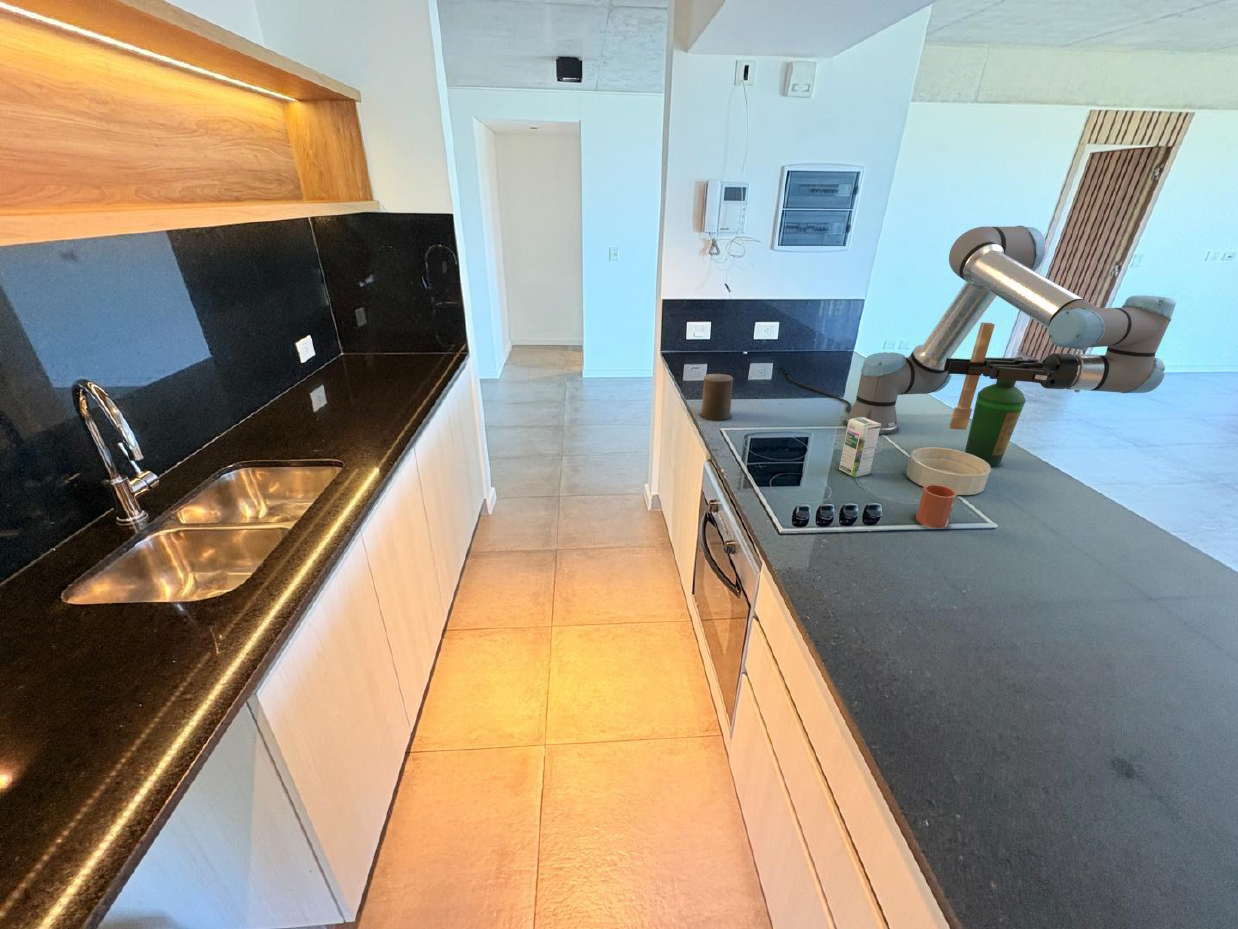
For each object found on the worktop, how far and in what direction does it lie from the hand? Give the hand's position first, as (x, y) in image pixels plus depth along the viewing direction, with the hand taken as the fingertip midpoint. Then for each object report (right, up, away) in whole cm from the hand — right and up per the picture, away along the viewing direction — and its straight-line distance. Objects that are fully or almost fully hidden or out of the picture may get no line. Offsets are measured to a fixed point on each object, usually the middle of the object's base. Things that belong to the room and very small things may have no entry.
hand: (947, 365), depth 117 cm
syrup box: (-10, -24, +24) cm, 36 cm away
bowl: (+10, -26, +19) cm, 34 cm away
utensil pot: (-4, -35, 0) cm, 35 cm away
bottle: (+28, -21, +30) cm, 47 cm away
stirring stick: (+5, -14, +5) cm, 16 cm away
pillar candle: (-40, -5, +65) cm, 76 cm away
